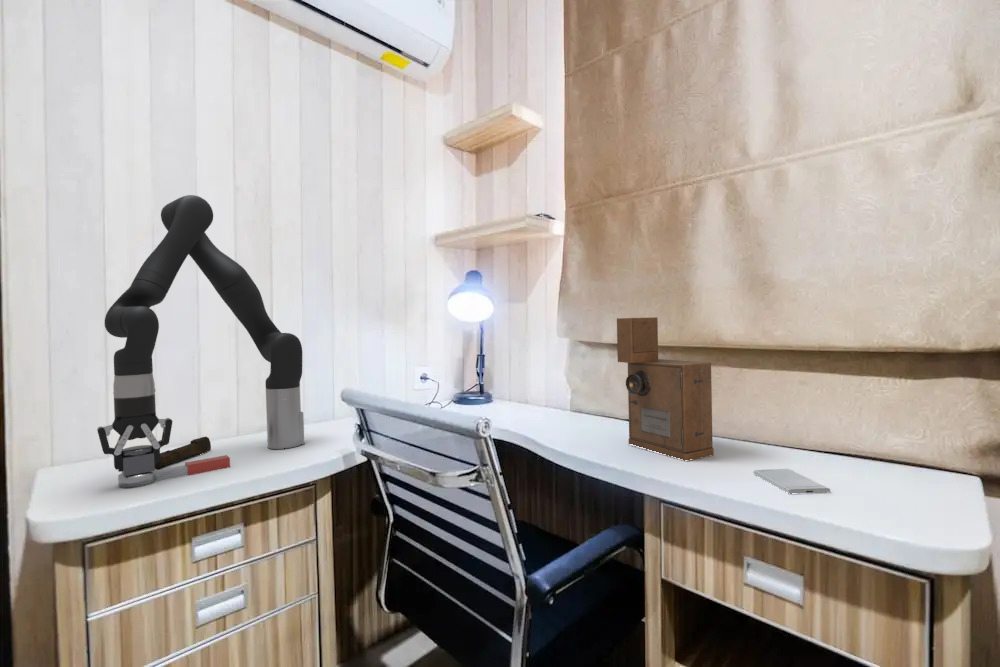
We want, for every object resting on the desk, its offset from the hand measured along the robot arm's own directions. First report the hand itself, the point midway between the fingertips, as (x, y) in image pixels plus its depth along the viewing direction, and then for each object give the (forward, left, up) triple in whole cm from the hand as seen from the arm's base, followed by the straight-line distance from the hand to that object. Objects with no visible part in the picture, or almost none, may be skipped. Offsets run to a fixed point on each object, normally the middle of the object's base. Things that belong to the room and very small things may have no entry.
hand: (137, 467), depth 111 cm
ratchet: (-7, 0, -4) cm, 8 cm away
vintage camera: (-105, +72, -4) cm, 127 cm away
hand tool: (-11, -17, -4) cm, 21 cm away
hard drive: (-98, +104, -4) cm, 143 cm away
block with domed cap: (0, 0, -1) cm, 1 cm away
